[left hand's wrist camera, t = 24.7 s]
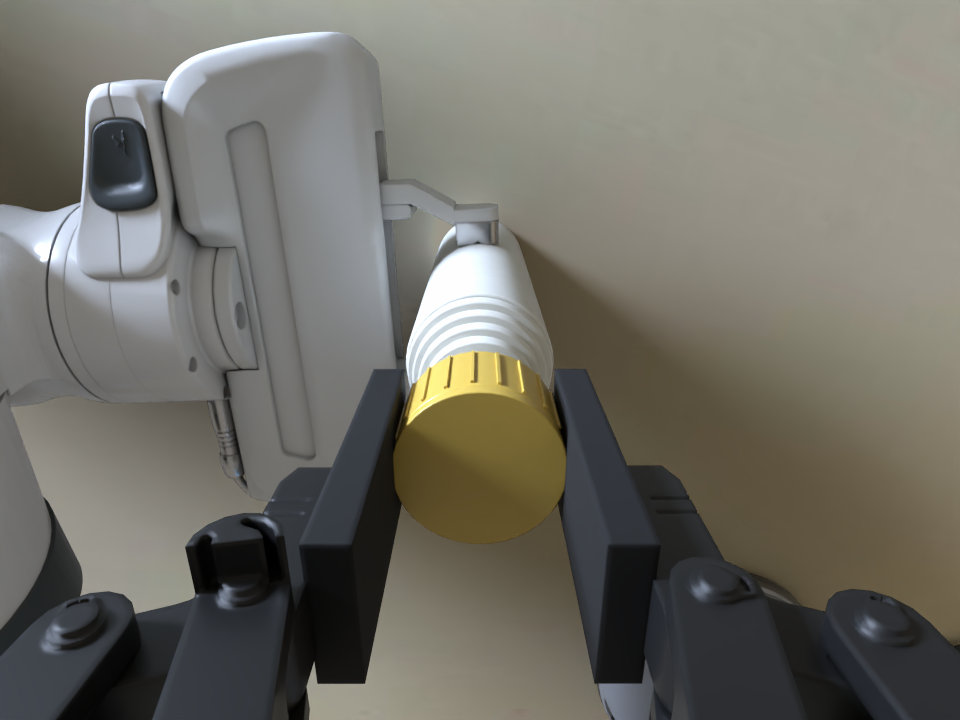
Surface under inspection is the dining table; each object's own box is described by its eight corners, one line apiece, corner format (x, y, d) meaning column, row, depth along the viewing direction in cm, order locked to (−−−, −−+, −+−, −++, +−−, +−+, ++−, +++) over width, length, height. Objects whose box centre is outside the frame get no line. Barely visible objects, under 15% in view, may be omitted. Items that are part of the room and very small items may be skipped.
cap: (585, 445, 15) (602, 499, 13) (454, 510, 16) (449, 572, 14) (509, 319, 14) (515, 356, 12) (371, 396, 15) (352, 444, 12)
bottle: (509, 310, 33) (548, 549, 15) (429, 291, 33) (363, 512, 14) (531, 229, 32) (606, 383, 13) (447, 208, 31) (400, 336, 13)
